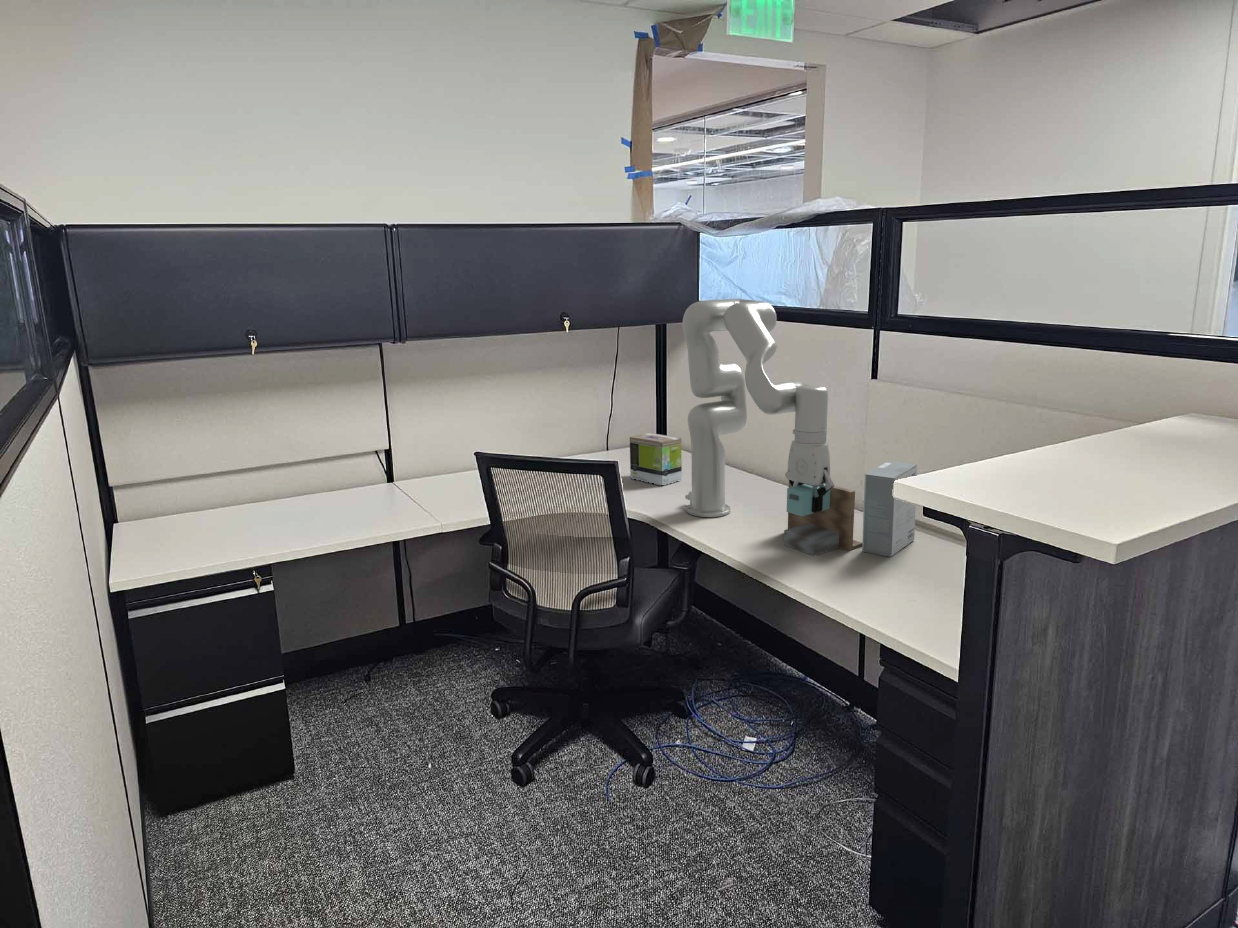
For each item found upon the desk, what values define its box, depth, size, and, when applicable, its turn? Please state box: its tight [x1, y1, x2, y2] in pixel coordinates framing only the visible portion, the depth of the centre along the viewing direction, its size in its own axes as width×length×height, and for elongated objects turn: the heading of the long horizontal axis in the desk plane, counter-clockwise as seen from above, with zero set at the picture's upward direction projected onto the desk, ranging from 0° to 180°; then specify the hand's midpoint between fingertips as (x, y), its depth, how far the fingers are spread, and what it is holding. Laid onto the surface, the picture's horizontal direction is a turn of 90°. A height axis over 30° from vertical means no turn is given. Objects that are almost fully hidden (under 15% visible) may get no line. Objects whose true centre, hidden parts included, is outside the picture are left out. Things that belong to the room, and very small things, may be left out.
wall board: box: [783, 481, 862, 557], centre depth 207 cm, size 20×14×15 cm
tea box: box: [629, 432, 683, 486], centre depth 272 cm, size 15×10×15 cm
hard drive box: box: [861, 460, 918, 558], centre depth 203 cm, size 16×8×20 cm, turn 141°
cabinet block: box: [786, 484, 830, 516], centre depth 202 cm, size 5×11×6 cm, turn 126°
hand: (808, 508), depth 203 cm, fingers closed on cabinet block, 5 cm apart
